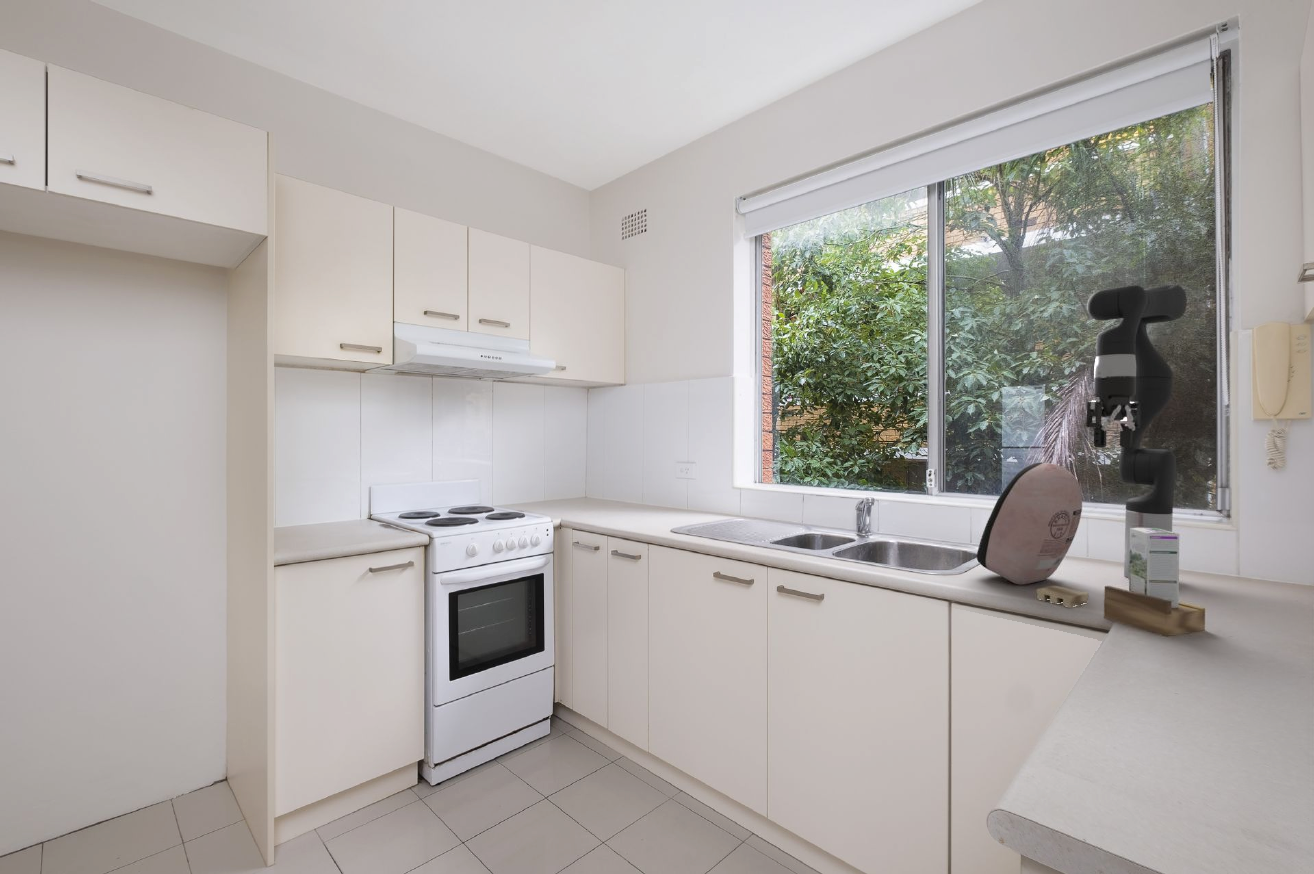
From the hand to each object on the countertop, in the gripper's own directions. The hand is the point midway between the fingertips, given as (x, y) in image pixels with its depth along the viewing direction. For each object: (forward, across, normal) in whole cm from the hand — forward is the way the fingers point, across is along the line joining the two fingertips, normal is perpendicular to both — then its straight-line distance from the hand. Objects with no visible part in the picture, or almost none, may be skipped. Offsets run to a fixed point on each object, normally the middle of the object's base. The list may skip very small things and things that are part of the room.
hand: (1113, 447), depth 133 cm
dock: (+34, +12, +16) cm, 40 cm away
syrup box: (+30, +12, +16) cm, 36 cm away
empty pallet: (+34, +15, 0) cm, 37 cm away
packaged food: (+34, +6, -15) cm, 38 cm away
